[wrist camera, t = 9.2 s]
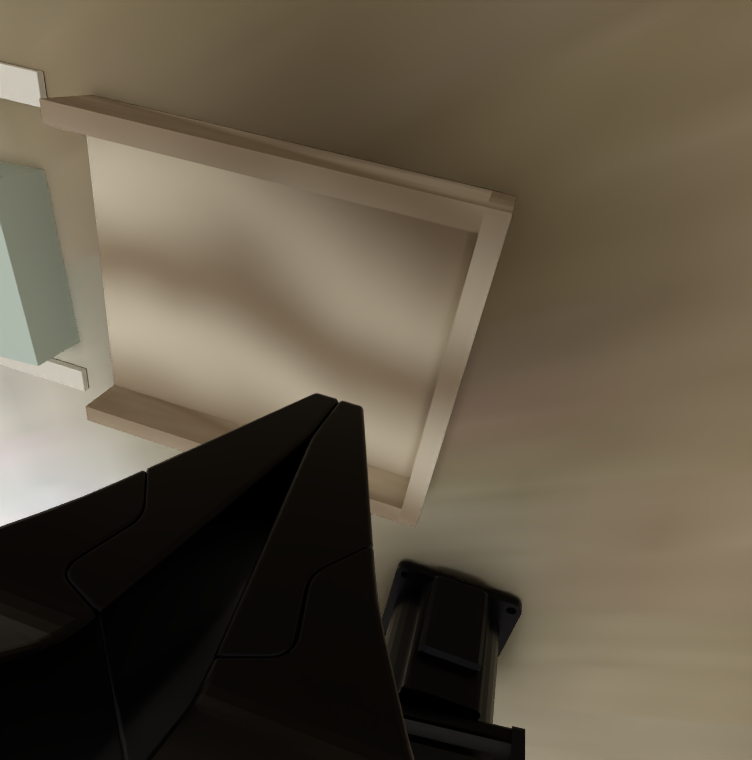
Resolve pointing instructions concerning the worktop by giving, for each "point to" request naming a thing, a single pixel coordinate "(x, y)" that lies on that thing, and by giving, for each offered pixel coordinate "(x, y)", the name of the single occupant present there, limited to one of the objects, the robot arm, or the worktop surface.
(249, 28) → the worktop surface
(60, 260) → the pale green block
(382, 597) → the worktop surface
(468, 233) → the shallow beige tray
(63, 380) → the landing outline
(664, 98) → the worktop surface
